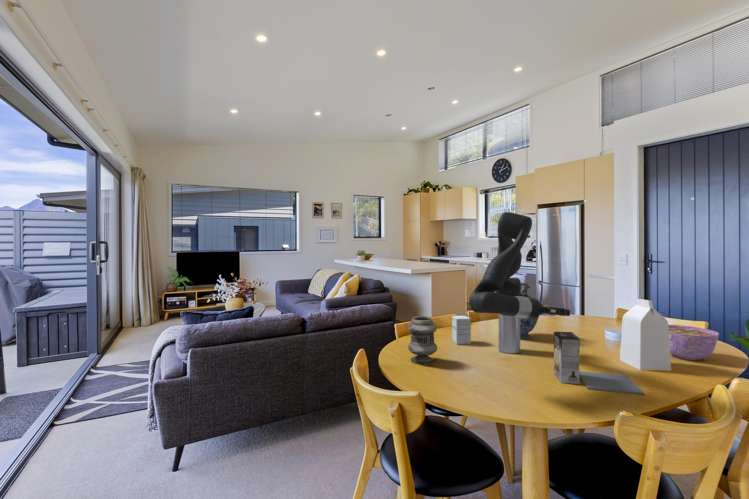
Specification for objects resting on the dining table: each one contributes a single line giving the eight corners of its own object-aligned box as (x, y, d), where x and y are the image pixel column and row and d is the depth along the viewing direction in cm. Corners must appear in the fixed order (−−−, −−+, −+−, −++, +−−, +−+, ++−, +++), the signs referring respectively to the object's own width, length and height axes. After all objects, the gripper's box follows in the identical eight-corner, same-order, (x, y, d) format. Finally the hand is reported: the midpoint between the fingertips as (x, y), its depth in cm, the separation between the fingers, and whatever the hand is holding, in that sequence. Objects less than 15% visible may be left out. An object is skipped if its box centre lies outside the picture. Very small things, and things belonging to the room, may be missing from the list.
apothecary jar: (404, 363, 147) (404, 319, 147) (412, 355, 159) (411, 314, 158) (434, 366, 143) (434, 321, 143) (439, 357, 155) (439, 316, 154)
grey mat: (587, 389, 120) (587, 387, 120) (577, 372, 136) (577, 371, 136) (644, 395, 115) (644, 393, 115) (626, 377, 130) (626, 375, 130)
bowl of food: (654, 357, 152) (654, 330, 152) (658, 347, 167) (659, 322, 167) (719, 368, 138) (719, 338, 138) (718, 356, 153) (718, 329, 153)
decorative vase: (496, 331, 199) (497, 280, 199) (531, 332, 197) (532, 281, 196) (505, 341, 178) (506, 285, 178) (544, 343, 176) (545, 286, 175)
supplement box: (451, 340, 182) (451, 315, 181) (466, 340, 182) (466, 315, 182) (456, 344, 174) (456, 318, 174) (471, 344, 175) (471, 318, 175)
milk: (619, 360, 149) (619, 297, 149) (648, 360, 149) (648, 297, 149) (640, 370, 137) (640, 302, 137) (671, 370, 137) (671, 302, 137)
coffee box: (553, 373, 135) (552, 331, 134) (571, 374, 133) (571, 331, 133) (560, 383, 126) (560, 337, 125) (580, 384, 124) (580, 338, 124)
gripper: (539, 297, 121) (576, 302, 125) (510, 295, 134) (545, 300, 139) (537, 320, 120) (575, 324, 124) (509, 316, 133) (544, 320, 138)
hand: (559, 312), depth 132 cm, fingers open, 8 cm apart
